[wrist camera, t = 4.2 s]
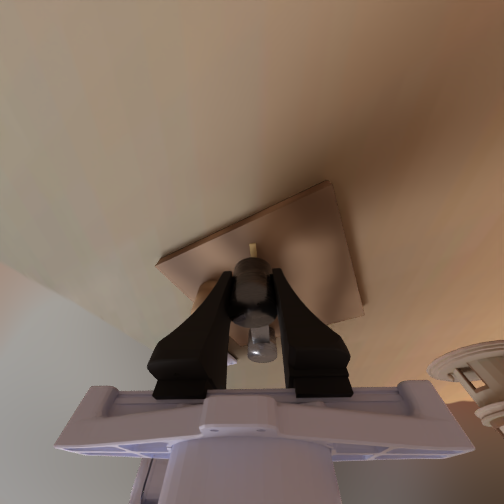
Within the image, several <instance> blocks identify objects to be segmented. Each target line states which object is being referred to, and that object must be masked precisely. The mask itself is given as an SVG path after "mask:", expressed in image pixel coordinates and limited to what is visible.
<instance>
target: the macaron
mask: <svg viewBox="0 0 504 504" xmlns="http://www.w3.org/2000/svg"><path fill="white" fill-rule="evenodd" d="M217 281H218V280H210V281H206V282H204V283H202V284H201V285H200V287H199V290H198V293H197V295H196V298H195V301H194V304H193V307H192V310H191V315H192V314H193V313H194V312H195V311H196V309H197V308H198V307H199V306H200V305H201V304H202V302H203V301H204V300H205V299H206V297H207V296H208V295H209V293H210V292H211V291H212V289H213V288H214V286H215V285H216V283H217Z"/></svg>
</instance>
